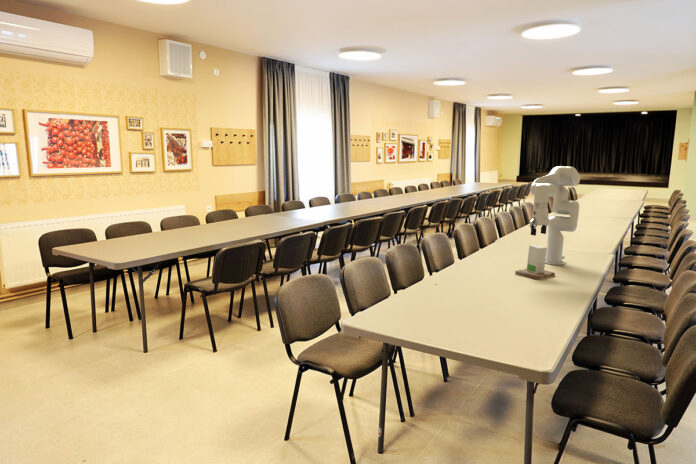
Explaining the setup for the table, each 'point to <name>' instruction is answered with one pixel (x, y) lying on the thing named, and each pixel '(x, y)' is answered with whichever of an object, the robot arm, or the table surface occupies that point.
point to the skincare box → (536, 258)
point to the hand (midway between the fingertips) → (538, 234)
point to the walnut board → (534, 274)
